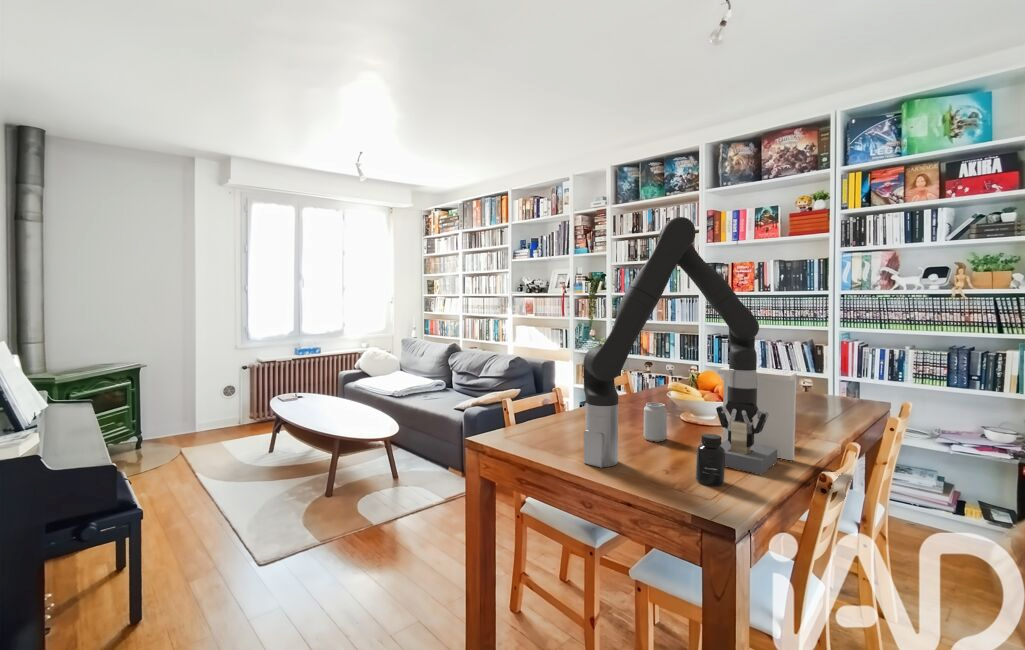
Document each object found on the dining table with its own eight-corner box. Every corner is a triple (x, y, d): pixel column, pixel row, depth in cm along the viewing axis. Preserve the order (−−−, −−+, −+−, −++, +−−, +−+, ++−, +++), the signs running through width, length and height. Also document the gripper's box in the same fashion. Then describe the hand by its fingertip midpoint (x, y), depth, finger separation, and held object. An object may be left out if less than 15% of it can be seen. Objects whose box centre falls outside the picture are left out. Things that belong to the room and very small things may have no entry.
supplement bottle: (707, 488, 124) (708, 440, 123) (690, 478, 131) (691, 433, 130) (730, 485, 126) (731, 438, 125) (712, 476, 132) (713, 431, 132)
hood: (787, 465, 140) (790, 375, 139) (716, 451, 154) (717, 368, 153) (794, 460, 145) (796, 373, 144) (724, 446, 159) (725, 366, 157)
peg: (745, 459, 138) (746, 423, 138) (730, 456, 141) (731, 421, 141) (750, 456, 141) (751, 421, 141) (735, 453, 144) (736, 418, 144)
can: (664, 436, 170) (664, 401, 170) (668, 442, 163) (669, 406, 162) (641, 435, 171) (642, 401, 170) (645, 442, 164) (645, 406, 163)
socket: (761, 475, 133) (761, 460, 133) (708, 463, 142) (709, 449, 142) (777, 462, 143) (777, 448, 143) (727, 452, 153) (727, 439, 152)
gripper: (711, 383, 142) (710, 443, 143) (765, 390, 132) (763, 453, 133) (721, 380, 148) (720, 437, 149) (773, 386, 138) (772, 447, 139)
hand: (740, 444), depth 141 cm, fingers closed on peg, 4 cm apart
